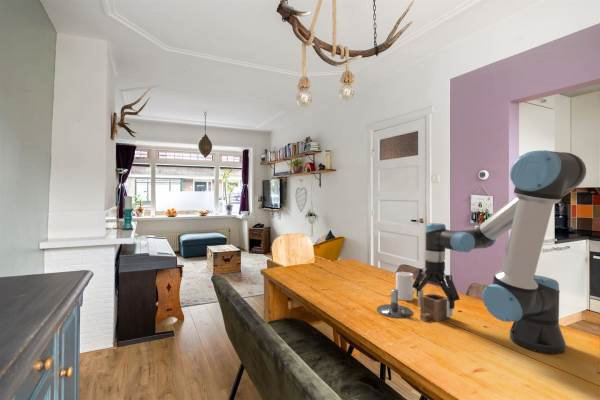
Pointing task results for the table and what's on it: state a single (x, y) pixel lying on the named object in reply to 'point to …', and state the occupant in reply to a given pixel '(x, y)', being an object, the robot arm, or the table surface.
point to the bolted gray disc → (394, 307)
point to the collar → (433, 307)
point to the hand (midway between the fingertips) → (434, 310)
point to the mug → (405, 285)
